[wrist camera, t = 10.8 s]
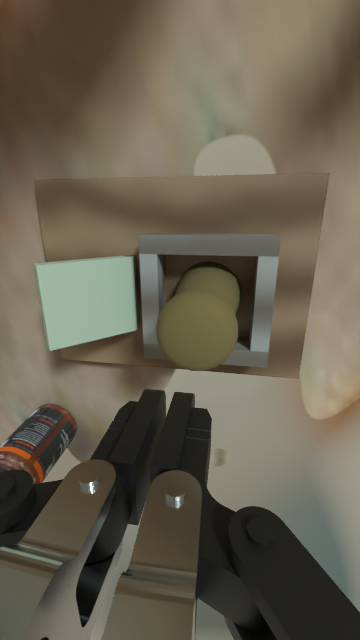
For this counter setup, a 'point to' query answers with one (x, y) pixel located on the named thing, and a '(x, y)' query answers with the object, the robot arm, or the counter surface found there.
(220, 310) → the olive knobbed cylinder
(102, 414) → the counter surface
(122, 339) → the holder board
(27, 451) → the supplement bottle
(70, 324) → the latch flap
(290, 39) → the counter surface
